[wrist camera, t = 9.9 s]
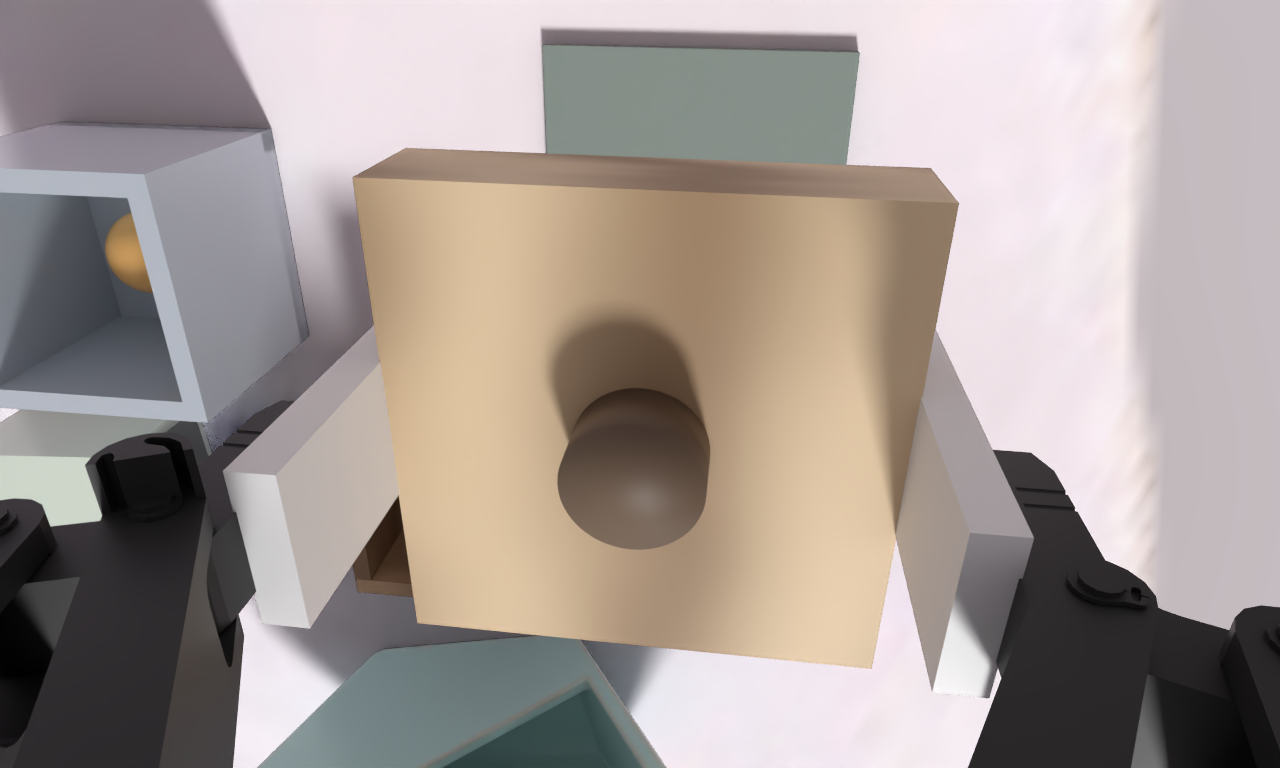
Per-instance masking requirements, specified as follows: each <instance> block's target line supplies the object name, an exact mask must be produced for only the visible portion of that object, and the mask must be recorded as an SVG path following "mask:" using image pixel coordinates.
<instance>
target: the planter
mask: <svg viewBox="0 0 1280 768" xmlns="http://www.w3.org/2000/svg"><path fill="white" fill-rule="evenodd" d="M257 768H666V766H665V765H664V763H663V762H662V760H661V759H660V757H659V756H658V754H657V753H656V751H655V750H654V748H653V747H652V745H651V744H650V742H649V741H648V739H647V738H646V736H645V735H644V733H643V732H642V730H641V729H640V727H639V726H638V724H637V723H636V721H635V720H634V718H633V717H632V715H631V714H630V712H629V711H628V709H627V708H626V706H625V705H624V703H623V702H622V700H621V699H620V698H619V696H618V695H617V693H616V692H615V690H614V689H613V687H612V686H611V684H610V683H609V681H608V680H607V678H606V677H605V675H604V674H603V672H602V671H601V669H600V668H599V666H598V665H597V663H596V662H595V660H594V659H593V657H592V656H591V654H590V653H589V651H588V650H587V648H586V647H585V645H584V644H583V643H582V641H581V640H580V639H571V638H561V637H551V636H541V635H538V636H527V637H515V638H504V639H492V640H481V641H470V642H458V643H447V644H436V645H425V646H413V647H403V648H392V649H384V650H380V651H378V652H376V653H375V654H373V655H372V656H371V657H370V658H369V659H368V660H367V661H366V662H365V663H364V664H363V665H362V666H361V667H360V668H359V669H357V670H356V671H355V672H354V673H353V674H352V675H351V676H350V677H349V678H348V679H347V680H346V681H345V682H344V683H343V684H342V685H341V686H340V687H339V688H338V689H337V690H336V691H335V692H334V693H333V694H332V695H331V696H330V697H329V698H328V699H327V700H326V701H325V702H324V703H323V704H322V705H321V706H320V707H319V708H318V709H316V710H315V711H314V712H313V713H312V714H311V715H310V716H309V717H308V718H307V719H306V720H305V721H304V722H303V723H302V724H301V725H300V726H299V727H298V728H297V729H296V730H295V731H294V732H293V733H292V734H291V735H290V736H289V737H288V738H287V739H286V740H285V741H284V742H283V743H282V744H281V745H280V746H279V747H278V748H277V749H276V750H275V751H274V752H272V753H271V754H270V755H269V756H268V757H267V758H266V759H265V760H264V761H263V762H262V763H261V764H260V765H259V766H258V767H257Z"/></svg>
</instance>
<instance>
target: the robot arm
mask: <svg viewBox="0 0 1280 768" xmlns="http://www.w3.org/2000/svg"><path fill="white" fill-rule="evenodd" d="M85 467H86V470H87V473H88V476H89V479H90V482H91V485H92V488H93V491H94V493H95V496H96V499H97V502H98V505H99V508H100V511H101V514H102V517H101V520H100V521H94V522H86V523H77V524H68V525H59V526H50V524H49V521H48V519H47V516H46V513H45V511H44V508H43V505H42V504H40V503H38V502H36V501H34V500H32V499H18V498H13V499H6V500H0V768H233V759H234V747H235V736H236V724H237V712H238V700H239V689H240V677H241V665H242V654H243V642H244V634H243V630H242V626H241V622H240V618H239V615H238V614H239V613H240V611H241V610H242V609H243V608H244V606H245V605H246V604H247V602H248V601H249V600H250V599H251V597H252V596H253V595H254V594H255V598H256V602H257V606H258V610H259V614H260V618H261V622H262V624H269V625H279V626H289V627H299V628H309V629H310V628H311V626H312V625H313V623H314V622H315V620H316V619H317V617H318V616H319V614H320V613H321V611H322V610H323V608H324V607H325V605H326V604H327V602H328V601H329V599H330V598H331V596H332V595H333V593H334V592H335V590H336V589H337V587H338V586H339V584H340V583H341V581H342V580H343V578H344V577H345V575H346V574H347V572H348V571H349V569H350V568H351V566H352V565H353V563H354V562H355V560H356V559H357V557H358V556H359V554H360V553H361V551H362V550H363V548H364V546H365V545H366V543H367V542H368V540H369V539H370V537H371V536H372V534H373V533H374V531H375V530H376V528H377V527H378V525H379V524H380V522H381V521H382V519H383V518H384V516H385V515H386V513H387V512H388V510H389V509H390V507H391V506H392V504H393V503H394V501H395V500H396V498H397V497H398V495H399V494H400V492H399V485H398V478H397V471H396V465H395V458H394V451H393V444H392V437H391V430H390V423H389V416H388V409H387V402H386V395H385V389H384V382H383V375H382V368H381V362H379V356H378V349H377V343H376V336H375V329H374V325H373V326H372V327H371V328H370V329H369V330H368V331H367V332H366V333H365V334H364V335H363V336H362V337H361V338H360V339H359V340H358V341H357V342H356V343H355V344H354V345H353V346H352V347H351V348H350V349H349V350H348V351H347V352H346V353H345V354H343V355H342V356H341V357H340V358H339V359H338V360H337V361H336V362H335V363H334V364H333V365H332V366H331V367H330V368H329V369H328V370H327V371H326V372H325V373H324V374H323V375H322V376H321V377H320V378H319V379H318V380H317V381H316V382H314V383H313V384H312V385H311V386H310V387H309V388H308V389H307V390H306V391H305V392H304V393H303V394H302V395H301V396H300V397H299V398H298V399H297V400H296V401H295V402H293V401H280V402H278V403H276V404H274V405H272V406H270V407H268V408H266V409H264V410H262V411H260V412H258V413H256V414H254V415H253V416H252V417H251V418H250V419H249V420H248V421H247V422H246V423H244V424H243V425H242V426H241V427H240V428H239V429H238V432H237V433H234V434H232V435H231V436H230V437H229V438H228V439H227V440H226V441H225V442H224V443H223V446H219V447H218V448H217V449H216V450H215V451H214V452H213V453H212V454H211V455H209V456H208V457H207V458H206V459H205V460H204V461H203V462H202V463H201V464H200V465H199V466H198V464H197V460H196V457H195V453H194V449H193V446H192V442H191V440H189V439H188V438H186V437H184V436H183V435H180V434H173V433H167V432H165V433H149V434H143V435H139V436H134V437H130V438H126V439H124V440H121V441H118V442H116V443H113V444H111V445H108V446H107V447H105V448H103V449H102V450H100V451H99V452H97V453H96V454H94V455H93V456H92V457H91V458H90V459H89V461H88V462H87V463H86V464H85ZM895 536H896V540H897V544H898V549H899V553H900V557H901V561H902V566H903V570H904V574H905V578H906V583H907V587H908V591H909V595H910V600H911V604H912V608H913V612H914V617H915V621H916V625H917V629H918V634H919V638H920V642H921V646H922V651H923V655H924V659H925V663H926V668H927V672H928V676H929V680H930V685H931V689H932V692H934V693H943V694H953V695H963V696H973V697H982V698H989V697H990V693H991V690H992V686H993V683H994V679H995V676H996V672H997V669H999V672H1000V675H1001V678H1002V679H1001V681H1000V684H999V687H998V689H997V692H996V695H995V697H994V700H993V703H992V705H991V708H990V711H989V713H988V716H987V719H986V721H985V724H984V727H983V729H982V732H981V735H980V737H979V740H978V743H977V745H976V748H975V751H974V753H973V756H972V758H971V761H970V764H969V766H968V768H1280V607H1270V606H1256V607H1251V608H1246V609H1244V610H1242V611H1241V612H1240V613H1239V614H1238V615H1237V616H1236V617H1235V619H1234V621H1233V623H1232V625H1231V628H1230V630H1226V629H1223V628H1220V627H1216V626H1213V625H1209V624H1205V623H1202V622H1199V621H1195V620H1191V619H1188V618H1184V617H1181V616H1178V615H1176V614H1172V613H1170V612H1167V611H1164V610H1162V609H1160V608H1158V605H1157V599H1156V596H1155V595H1154V593H1153V592H1152V591H1151V589H1150V588H1149V587H1148V586H1147V584H1146V583H1145V582H1144V581H1142V580H1141V579H1139V578H1138V577H1137V576H1135V575H1134V574H1132V573H1131V572H1129V571H1128V570H1126V569H1124V568H1122V567H1119V566H1117V565H1115V564H1113V563H1110V562H1108V561H1105V559H1104V558H1103V556H1102V554H1101V552H1100V551H1099V549H1098V547H1097V545H1096V544H1095V542H1094V540H1093V538H1092V537H1091V535H1090V533H1089V531H1088V530H1087V528H1086V526H1085V524H1084V523H1083V521H1082V519H1081V517H1080V516H1079V514H1078V512H1076V511H1075V507H1074V505H1073V503H1072V502H1071V500H1070V498H1069V496H1068V495H1065V489H1064V488H1063V486H1062V484H1061V482H1060V481H1059V479H1058V477H1057V475H1056V474H1055V472H1054V471H1053V470H1052V469H1051V468H1049V467H1048V466H1047V465H1046V464H1044V463H1043V462H1042V461H1041V460H1039V459H1038V458H1037V457H1036V456H1034V455H1033V454H1032V453H1027V452H1014V451H1000V450H992V448H991V446H990V443H989V441H988V439H987V437H986V435H985V433H984V431H983V429H982V427H981V424H980V422H979V420H978V418H977V416H976V414H975V412H974V410H973V407H972V405H971V403H970V401H969V399H968V397H967V395H966V393H965V391H964V388H963V386H962V384H961V382H960V380H959V378H958V376H957V374H956V371H955V369H954V367H953V365H952V363H951V361H950V359H949V357H948V355H947V352H946V350H945V348H944V346H943V344H942V342H941V340H940V338H939V335H938V333H937V331H936V329H935V333H934V339H933V344H932V349H931V355H930V360H929V365H928V371H927V376H926V381H925V387H924V392H923V397H922V398H921V399H920V405H919V410H918V416H917V421H916V426H915V432H914V437H913V442H912V448H911V453H910V459H909V464H908V469H907V475H906V480H905V485H904V491H903V496H902V502H901V507H900V512H899V518H898V523H897V528H896V534H895Z"/></svg>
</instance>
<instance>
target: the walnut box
mask: <svg viewBox="0 0 1280 768" xmlns="http://www.w3.org/2000/svg"><path fill="white" fill-rule="evenodd" d="M353 569H354V574H355V580H356V585H357V591H358V592H363V593H374V594H385V595H396V596H407V597H413V590H412V583H411V576H410V569H409V562H408V556H407V549H406V542H405V535H404V528H403V521H402V514H401V507H400V501H399V495H398V497H397V498H396V500H395V501H394V503H393V504H392V506H391V507H390V509H389V510H388V512H387V513H386V515H385V516H384V518H383V519H382V521H381V522H380V524H379V525H378V527H377V528H376V530H375V531H374V533H373V534H372V536H371V537H370V539H369V540H368V542H367V543H366V545H365V546H364V548H363V550H362V551H361V553H360V554H359V556H358V557H357V559H356V560H355V562H354V563H353Z"/></svg>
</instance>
